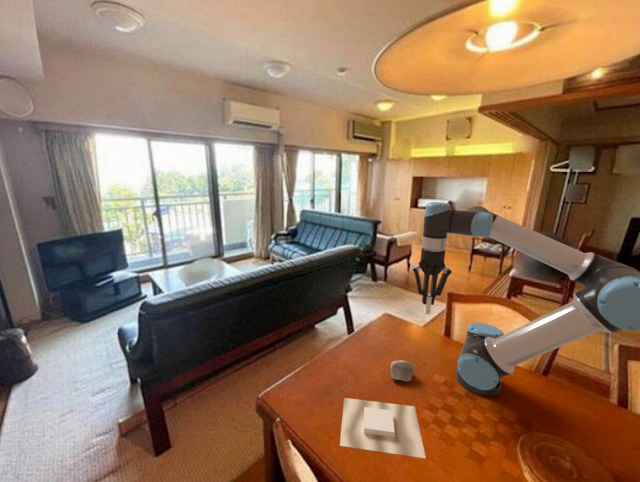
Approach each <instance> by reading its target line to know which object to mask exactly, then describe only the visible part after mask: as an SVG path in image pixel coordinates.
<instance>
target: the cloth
mask: <svg viewBox="0 0 640 482" xmlns="http://www.w3.org/2000/svg"><path fill="white" fill-rule="evenodd" d="M342 407H343V408H342V419H341V426H340V427H341V429H340V439H339V440H340V441H339V446H340V447H346V448H352V449H358V450H367V451H372V452H373V451H374V452H380V453H387V454H392V455H399V456H406V457H412V458H413V457H414V458H421V459H424V460H425V459H427V456H426V451H425V447H424V444H423V439H422V434H421V429H420V424H419V420H418V415H417V409H416V406H414V405H407V404H398V403H397V404H396V403H390V402H380V401H375V400H374V401H372V400H366V399H365V400H364V399H356V398H348V397H344V398H343V406H342ZM364 407H369V408H377V409H385V410H392V414H393V422H394V431H395V434H394V438H392V437H385V436H378V435H371V434H364Z"/></svg>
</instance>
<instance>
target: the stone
mask: <svg viewBox="0 0 640 482" xmlns="http://www.w3.org/2000/svg"><path fill="white" fill-rule="evenodd" d="M414 370H415V366H414V364H413V363H412V362H411V361H408V360H403V359H402V360H401V359H400V360H393V361H392V362H391V364H390V376H391V379H393V380H396V381H397V380H398V381H404V382H406V383H407V382H410V381H411V380H412V376H413V373H414Z"/></svg>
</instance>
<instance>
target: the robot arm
mask: <svg viewBox="0 0 640 482" xmlns="http://www.w3.org/2000/svg"><path fill="white" fill-rule="evenodd" d="M423 217H424V219H423V232H422V241H421V247H422V248H421V251H420V253H421V254H420V260H419V262H418V264H417V265H415V266H414V265H413V266H412V267H411V269H412V272H413V273H414V279H415V284H416V289H417V293H418V294H419V295H422V296H421V297H422V298H421V303H422V305H424V308H423V311H424V313H425V315H431V308H432V306H434V305H435V299H436V298H437V296H441V295H442V293H443V290H444V288H445V285H446V283H447V280H448V277H449V276H450V275H451V274H452V272H453V271H452V270H451V268H449V267H447V266H446V263H445V259H446V249H447V240H448V234H454V235H460V236H461V235H462V236H468V237H476V238H487V237H489V238H491V239H493V240H495V241H497V242H499V243H502V244H504V245H506V246H508V247H510V248H512V249H513V250H516V251H518V252H520V253H522V254H524V255H526V256H529V257H531V258H532V259H535V260H536V261H538V262H541V263H543V264H546V265H548V266H549V267H552V268H554V269H555V270H557V271H560V272H562V273H564V274H566V275H568V278H569V280H571V281H572V282H575V283H577V284H579V285H580V286H582V287H583V288H582V289H580V290H579V291H576V292H574V293H573V298H572V300H571V301H570V302H569V303H568V302H567V303H566V304H564V305H562V306H560V307H557V308H556V309H554V310H552V311H550V312H547V313H546V314H544V315H542V316H539V317H537V318H536V319H533V320H532V321H529V322H527V323H525V324H523V325H521V326H519V327H517V328H515V329H513V330H511V331H509V332H506V333H504V332H503V330H502V329H500V328H498V327H496V326H494V325H491V324H489V323H488V324H487V323H483V322H470V323H469V324H467V325H468V326H467V328H466V337H465V341H464V342H463V346H462V348H461V351H460V354H459V356H458V358H457V365H456V371H455V377H456V380H457V382H458V383H459V384H460V385H461V386H462V387H463V388H465V389H467V391H469V392H471V393H473V394H476V395H479V396H485V397H492V396H498V394H500V392H501V390H502V379H501V378H504V377H506V376H509V375H511V374H513V373H515V372H514V371H515V367H516V366H518V365H520V364H522V363H525V362H527V361H529V360H532V359H534V358H537V357H539V356H541V355H544V354H546V353H549V352H552V351H554V350H556V349H558V348H561V347H564V346H566V345H568V344H570V343H572V342H576V341H578V340H580V339H582V338H583V339H584V338H585V337H588V336H590V335H592V334H595V333H598V332H605V333H609V334H615V333H618V332H619V331H622V330H629V331H633V332H634V331H635V332H636V331H637V332H638V331H640V271H639V270H637V269H636V268H634V267H632V266H628V265H626V264H624V263H621V262H617V261H615V260H611V259H610V258H608V257H604V256H602V255H600V254H597V253H595V252H592V251H591V252H582V251H581V250H578V249H576V248H574V247H572V246H569V245H567V244H564V243H562V242H560V241H559V240H558V241H557V240H556V239H553V238H551V237H548V236H546V235H544V234H542V233H540V232H538V231H535V230H532V229H531V228H528V227H526V226H523V225H521V224H519V223H516V222H514V221H513V220H510V219H508V218H505V217H503V216H501V215H499V214H496V213H493V212H492V211H489V209H487V208H486V207H485V206H477V205H475V206H472V207H470V208H467V210H458V209H457V210H456V209H452V207H451V204H450V203H448V202H441V201H440V202H439V201H438V202H437V201H432V202H428V203H427V204H426V206H425V211H424V216H423ZM420 269H421V271H422V272H423V285H421V278H420ZM441 272H442V273H441ZM440 273H441V276H440V279H439V275H440ZM430 277H431V281H430ZM438 279H439V282H438ZM429 285H430V289H429ZM429 290H430V291H429ZM428 292H430V293H428Z"/></svg>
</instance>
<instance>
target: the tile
mask: <svg viewBox="0 0 640 482" xmlns="http://www.w3.org/2000/svg"><path fill="white" fill-rule="evenodd" d="M364 434H371V435H378V436H385V437H392V438H394V434H395V431H394V422H393V414H392V410H385V409H377V408H369V407H364Z"/></svg>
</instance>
